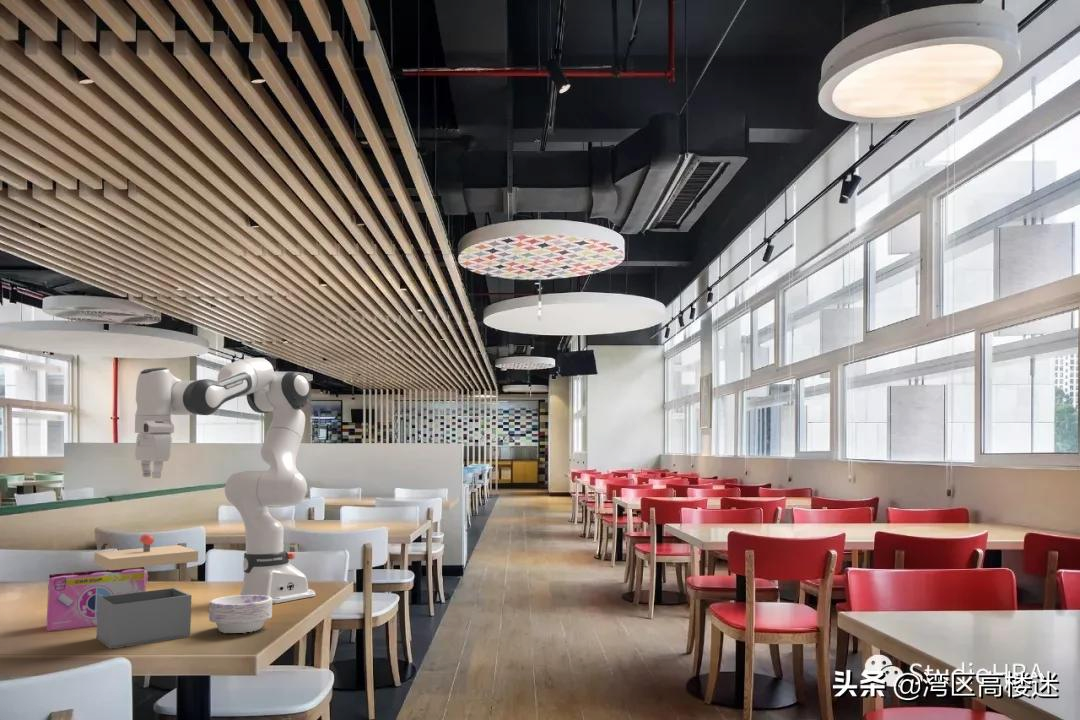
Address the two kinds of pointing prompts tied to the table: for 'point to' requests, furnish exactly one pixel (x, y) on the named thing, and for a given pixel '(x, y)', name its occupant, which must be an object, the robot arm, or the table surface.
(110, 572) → the gum box
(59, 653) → the table surface
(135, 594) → the carton
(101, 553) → the lid
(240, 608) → the paper bowls
